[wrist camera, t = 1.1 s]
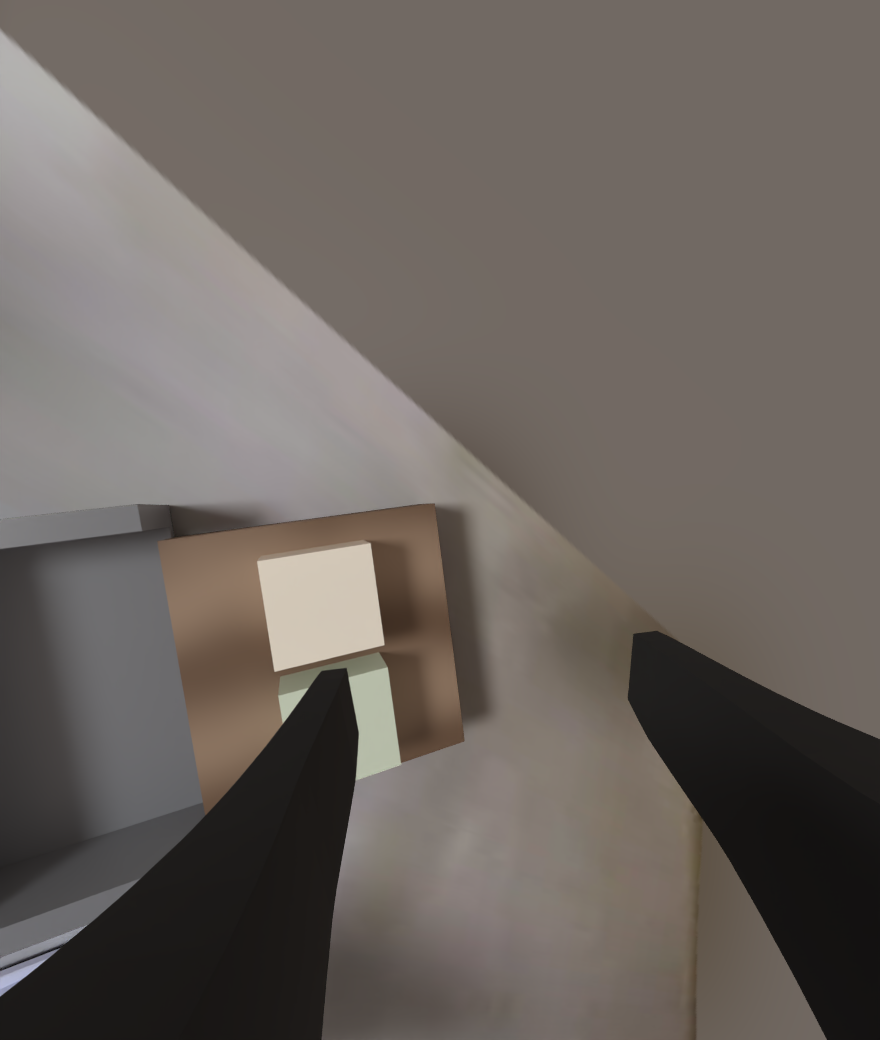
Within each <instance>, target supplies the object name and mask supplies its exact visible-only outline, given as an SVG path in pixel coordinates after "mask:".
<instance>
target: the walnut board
mask: <svg viewBox="0 0 880 1040" xmlns="http://www.w3.org/2000/svg"><path fill="white" fill-rule="evenodd" d="M359 540H365V541H367V542H369V543H371V550H372V557H373V565H374V572H375V579H376V586H377V594H378V601H379V608H380V615H381V623H382V630H383V637H384V644H385V645H383V646H379V647H375V648H371V649H366V650H362V651H358V652H354V653H350V654H346V655H342V656H338V657H334V658H329V659H325V660H321V661H317V662H313V663H309V664H305V665H301V666H297V667H293V668H288V669H284V670H280V671H276V672H274V666H273V659H272V653H271V647H270V640H269V634H268V628H267V621H266V615H265V609H264V602H263V596H262V590H261V583H260V577H259V571H258V565H257V561H258V559H259V558H260V557H261V556H264V555H270V554H277V553H283V552H289V551H296V550H302V549H308V548H315V547H321V546H328V545H334V544H340V543H347V542H353V541H359ZM157 543H158V549H159V554H160V560H161V566H162V572H163V577H164V583H165V589H166V594H167V600H168V606H169V612H170V617H171V623H172V629H173V634H174V640H175V646H176V652H177V657H178V663H179V669H180V674H181V680H182V686H183V692H184V697H185V703H186V709H187V714H188V720H189V726H190V732H191V737H192V743H193V749H194V754H195V760H196V766H197V772H198V777H199V783H200V789H201V795H202V800H203V806H204V812H205V815H206V814H207V813H208V812H209V811H210V810H211V809H212V808H213V807H214V806H215V805H216V804H217V802H218V801H219V800H220V799H221V798H222V797H223V796H224V795H225V794H226V793H227V791H228V790H229V789H230V788H231V787H232V786H233V785H234V783H235V782H236V781H237V780H238V779H239V778H240V776H241V775H242V774H243V773H244V772H245V770H246V769H247V768H248V767H249V766H250V764H251V763H252V762H253V761H254V760H255V758H256V757H257V756H258V755H259V754H260V752H261V751H262V750H263V749H264V747H265V746H266V745H267V744H268V742H269V741H270V740H271V739H272V737H273V736H274V735H275V733H276V732H277V731H278V729H279V728H280V727H281V725H282V724H283V722H282V716H281V710H280V704H279V697H278V694H279V683H280V677H281V676H285V675H289V674H293V673H297V672H301V671H305V670H309V669H313V668H317V667H321V666H325V665H329V664H333V663H338V662H342V661H346V660H350V659H354V658H358V657H362V656H366V655H370V654H374V653H378V652H379V653H380V655H381V657H382V658H383V660H384V662H385V663H386V665H387V667H388V673H389V680H390V688H391V695H392V702H393V709H394V717H395V724H396V731H397V738H398V746H399V753H400V760H401V763H402V762H405V761H408V760H411V759H414V758H417V757H420V756H423V755H426V754H429V753H431V752H434V751H437V750H440V749H443V748H446V747H449V746H452V745H455V744H458V743H461V742H464V733H463V725H462V717H461V709H460V701H459V694H458V686H457V678H456V670H455V662H454V654H453V646H452V638H451V630H450V622H449V614H448V606H447V599H446V591H445V583H444V575H443V567H442V559H441V551H440V543H439V535H438V527H437V519H436V511H435V504H418V505H410V506H403V507H395V508H388V509H381V510H373V511H366V512H358V513H351V514H343V515H336V516H329V517H321V518H314V519H306V520H299V521H291V522H284V523H277V524H269V525H262V526H254V527H247V528H239V529H232V530H225V531H217V532H210V533H202V534H195V535H187V536H180V537H173V538H169V539H165V540H160V541H157Z"/></svg>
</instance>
